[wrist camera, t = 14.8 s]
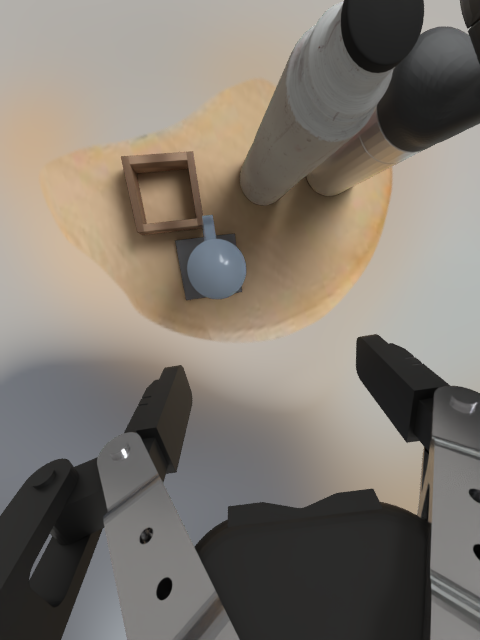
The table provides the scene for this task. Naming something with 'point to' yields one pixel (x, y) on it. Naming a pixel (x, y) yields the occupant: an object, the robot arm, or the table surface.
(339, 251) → the table surface
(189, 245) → the mat
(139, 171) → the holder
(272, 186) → the thermos bottle
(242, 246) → the table surface
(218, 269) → the jug
